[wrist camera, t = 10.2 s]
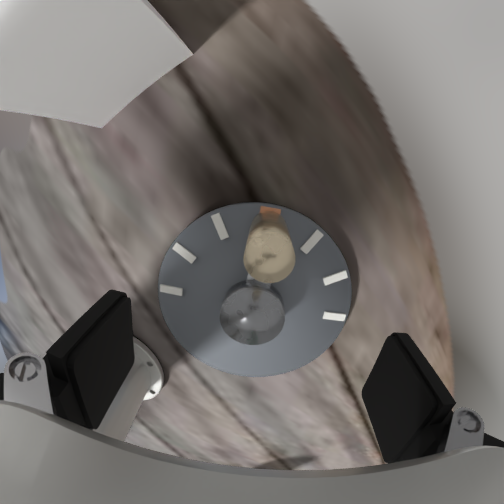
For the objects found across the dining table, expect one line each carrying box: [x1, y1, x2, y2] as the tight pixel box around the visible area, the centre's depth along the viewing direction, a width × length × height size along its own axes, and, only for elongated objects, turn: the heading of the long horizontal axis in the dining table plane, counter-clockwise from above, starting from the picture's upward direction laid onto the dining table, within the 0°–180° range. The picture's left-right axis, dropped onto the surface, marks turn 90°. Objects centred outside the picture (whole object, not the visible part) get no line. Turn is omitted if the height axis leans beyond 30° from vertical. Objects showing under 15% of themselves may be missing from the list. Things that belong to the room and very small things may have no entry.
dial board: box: [158, 202, 352, 377], centre depth 29 cm, size 20×20×1 cm
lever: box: [219, 211, 295, 345], centre depth 23 cm, size 13×6×8 cm, turn 170°
